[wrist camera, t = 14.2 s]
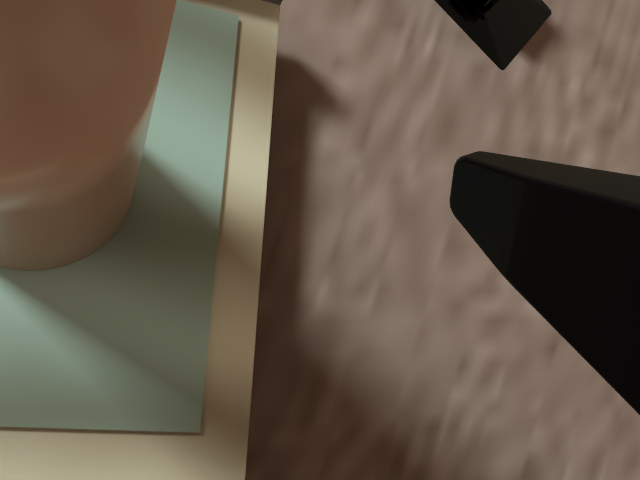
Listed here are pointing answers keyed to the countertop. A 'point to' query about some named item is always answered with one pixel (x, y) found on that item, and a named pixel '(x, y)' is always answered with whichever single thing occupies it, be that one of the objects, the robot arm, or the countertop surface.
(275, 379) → the countertop surface
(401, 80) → the countertop surface
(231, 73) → the mint green tray
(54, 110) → the canister
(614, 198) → the robot arm
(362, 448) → the countertop surface
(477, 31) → the dark piece
